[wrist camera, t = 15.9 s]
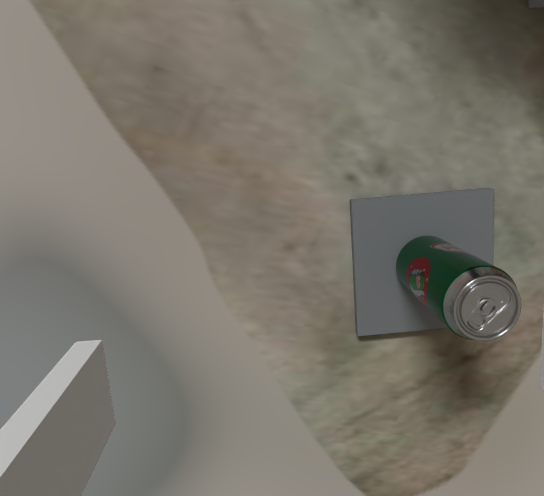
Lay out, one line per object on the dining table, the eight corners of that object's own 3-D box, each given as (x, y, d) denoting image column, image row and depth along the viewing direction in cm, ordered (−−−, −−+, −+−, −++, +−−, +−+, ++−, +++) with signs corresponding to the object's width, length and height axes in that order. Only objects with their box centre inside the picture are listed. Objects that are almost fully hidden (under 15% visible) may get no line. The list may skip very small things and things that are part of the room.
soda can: (464, 256, 43) (544, 299, 31) (427, 302, 44) (491, 361, 32) (418, 222, 42) (484, 253, 31) (382, 270, 43) (431, 318, 31)
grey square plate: (349, 199, 42) (351, 200, 42) (489, 187, 43) (493, 188, 42) (355, 332, 45) (357, 336, 44) (487, 320, 45) (491, 323, 45)
